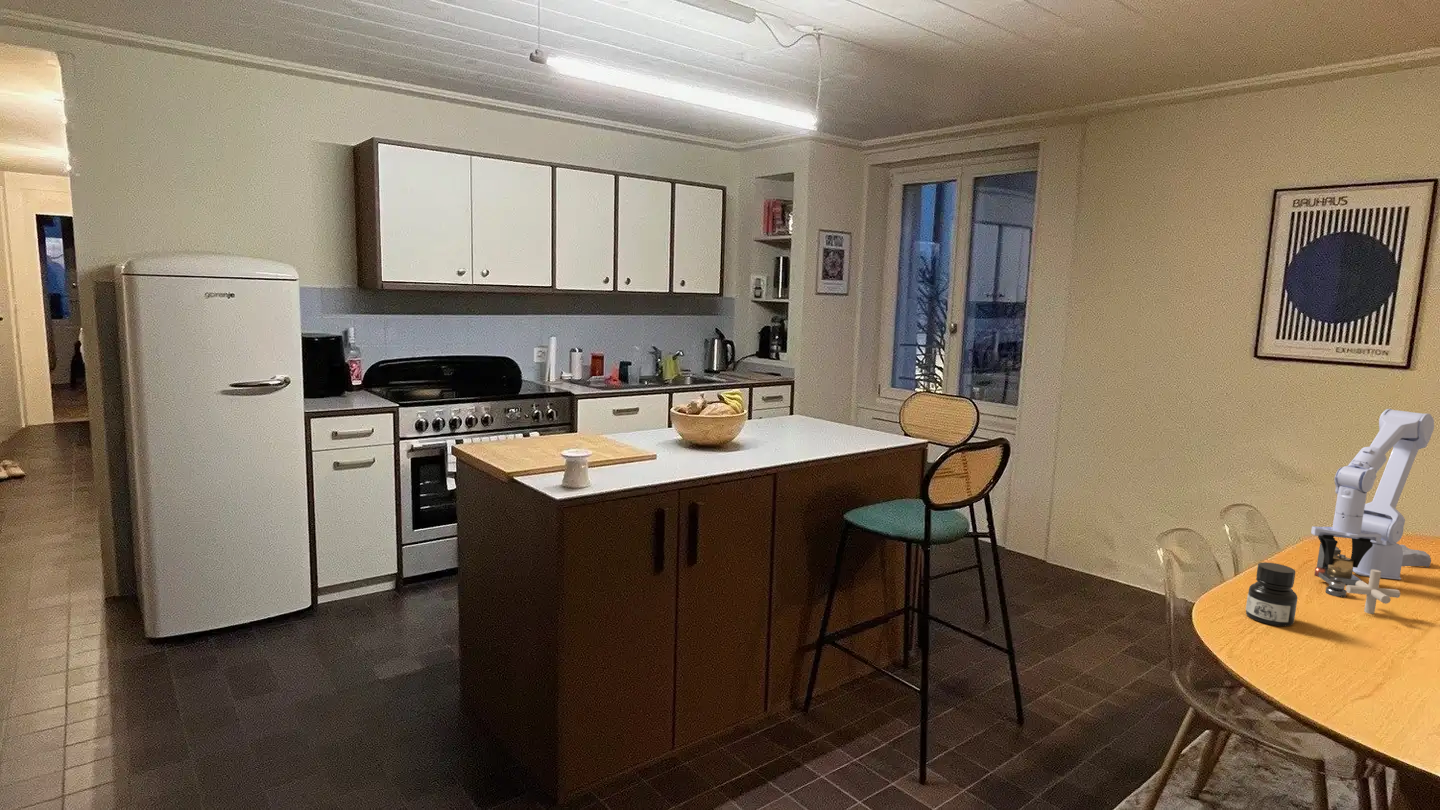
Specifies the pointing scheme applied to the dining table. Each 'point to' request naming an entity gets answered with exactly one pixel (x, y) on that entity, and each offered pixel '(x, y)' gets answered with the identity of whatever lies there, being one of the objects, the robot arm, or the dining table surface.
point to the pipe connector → (1373, 591)
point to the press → (1324, 565)
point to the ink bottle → (1272, 595)
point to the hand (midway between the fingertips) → (1340, 564)
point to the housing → (1341, 566)
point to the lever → (1329, 579)
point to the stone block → (1415, 557)
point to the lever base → (1336, 592)
